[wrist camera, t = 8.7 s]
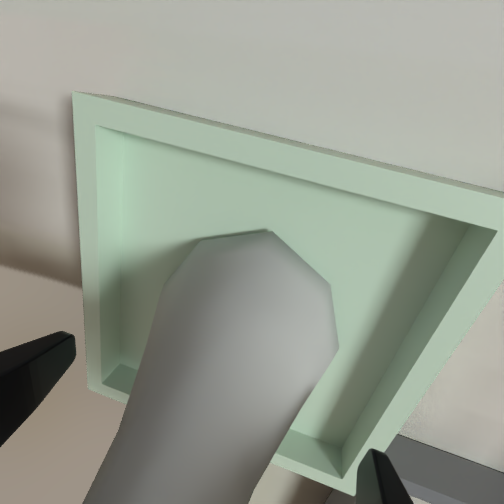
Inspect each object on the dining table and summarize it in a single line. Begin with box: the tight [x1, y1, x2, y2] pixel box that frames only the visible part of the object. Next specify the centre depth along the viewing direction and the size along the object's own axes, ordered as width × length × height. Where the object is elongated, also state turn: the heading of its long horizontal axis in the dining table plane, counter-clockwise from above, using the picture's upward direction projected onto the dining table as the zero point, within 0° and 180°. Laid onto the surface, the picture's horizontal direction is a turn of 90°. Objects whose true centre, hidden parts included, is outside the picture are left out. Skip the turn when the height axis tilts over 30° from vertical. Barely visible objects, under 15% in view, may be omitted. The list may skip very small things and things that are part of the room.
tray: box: [72, 91, 504, 496], centre depth 12 cm, size 14×14×2 cm
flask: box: [83, 231, 339, 504], centre depth 8 cm, size 7×7×10 cm
